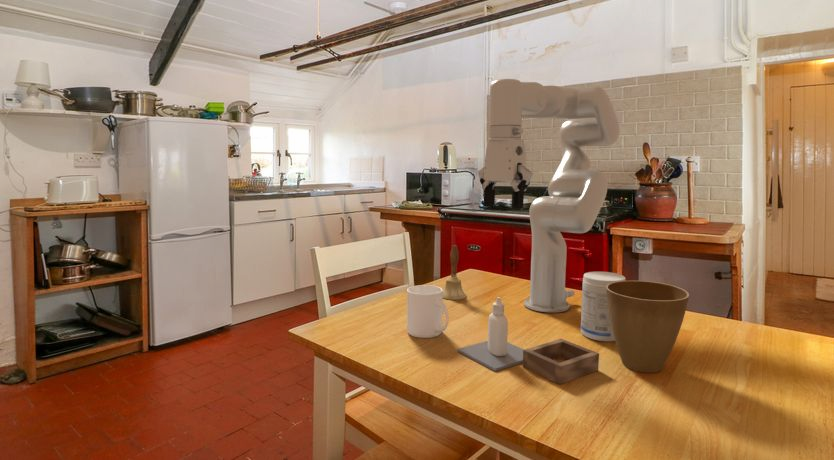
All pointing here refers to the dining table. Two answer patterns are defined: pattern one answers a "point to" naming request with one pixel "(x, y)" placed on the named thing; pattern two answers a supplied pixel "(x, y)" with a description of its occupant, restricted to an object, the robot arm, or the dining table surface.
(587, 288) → the supplement tub
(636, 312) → the plant pot
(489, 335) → the eye dropper bottle
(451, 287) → the hand bell
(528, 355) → the box
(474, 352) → the coaster
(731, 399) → the dining table surface
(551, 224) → the robot arm
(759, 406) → the dining table surface
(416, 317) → the mug
